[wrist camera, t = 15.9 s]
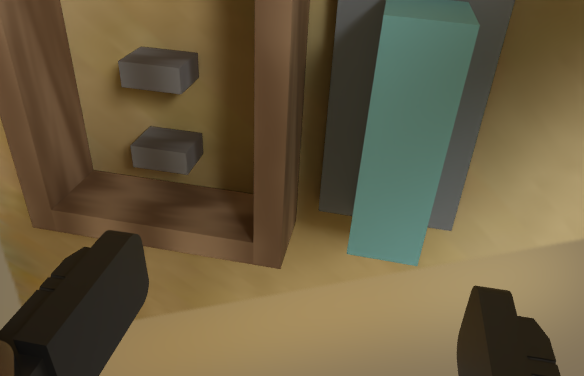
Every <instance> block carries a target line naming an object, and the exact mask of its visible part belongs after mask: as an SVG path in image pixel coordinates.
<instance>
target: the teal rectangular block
mask: <svg viewBox="0 0 584 376" xmlns="http://www.w3.org/2000/svg"><path fill="white" fill-rule="evenodd" d="M479 27H480V25H479V23H478V20H477V18H476V16H475V14H474V12H473V10H472V8H471V6H470V4H469V2H463V1H453V0H386V4H385V10H384V16H383V22H382V29H381V35H380V42H379V48H378V55H377V61H376V68H375V74H374V80H373V87H372V93H371V100H370V106H369V113H368V119H367V126H366V132H365V138H364V145H363V151H362V158H361V164H360V171H359V177H358V184H357V190H356V197H355V203H354V209H353V216H352V222H351V229H350V235H349V242H348V248H347V254H350V255H356V256H362V257H367V258H373V259H379V260H385V261H391V262H396V263H402V264H408V265H414V266H417V265H418V261H419V258H420V254H421V250H422V246H423V242H424V238H425V234H426V231H427V227H428V223H429V219H430V215H431V211H432V207H433V204H434V200H435V196H436V192H437V188H438V184H439V181H440V177H441V173H442V169H443V165H444V161H445V157H446V154H447V150H448V146H449V142H450V138H451V134H452V130H453V127H454V123H455V119H456V115H457V111H458V107H459V104H460V100H461V96H462V92H463V88H464V84H465V80H466V77H467V73H468V69H469V65H470V61H471V57H472V53H473V50H474V46H475V42H476V38H477V34H478V30H479Z"/></svg>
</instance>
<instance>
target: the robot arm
mask: <svg viewBox="0 0 584 376" xmlns="http://www.w3.org/2000/svg"><path fill="white" fill-rule="evenodd" d="M148 287H149V279H148V273H147V267H146V261H145V256H144V250H143V244H142V240H141V237H140V236H139V235H138V234H134V233H128V232H121V231H114V230H107V231H105V232H104V233H103V234H102V235H101V237H100V238H99V239H98V240H97V241H96V242H95V244H94V245H93V246H92V247H91V248H89V247H83V248H82V249H80V250H78V251H77V252H75V253H74V254H72V255H70V256H69V257H67V258H65V259H64V260H63V261H62V263H61V264H60V265H59V266H58V267H57V268H56V269H55V270H54V271H53V273H52V274H51V277H48V278H47V279H46V280H45V281H44V283H43V284H42V285H41V286H40V289H39V290H36V292H35V293H34V294H33V295H32V296H31V297H30V298H29V299H28V300H27V302H26V303H25V304H24V305H23V306H22V307H21V308H20V309H19V311H18V312H17V313H16V314H15V315H14V316H13V317H12V318H11V319H10V320H9V322H8V323H7V324H6V325H5V326H4V327H3V328H2V329H1V330H0V376H99V375H100V373H101V371H102V370H103V368H104V366H105V365H106V363H107V362H108V360H109V359H110V357H111V355H112V354H113V352H114V351H115V349H116V347H117V346H118V344H119V342H120V341H121V339H122V338H123V336H124V335H125V333H126V331H127V330H128V328H129V326H130V325H131V323H132V322H133V320H134V318H135V317H136V315H137V314H138V312H139V310H140V309H141V307H142V306H143V304H144V302H145V299H146V296H147V293H148ZM457 365H458V374H459V376H560V372H559V369H558V366H557V365H556V359H555V356H554V353H553V349H552V346H551V342H550V339H549V338H548V336H547V335H546V334H545V332H544V331H543V330H542V329H541V327H540V326H539V325H538V324H537V322H536V321H535V320H534V319H533V318H527V317H521V316H517V313H516V309H515V305H514V301H513V297H512V294H511V292H510V291H507V290H500V289H494V288H487V287H480V286H474V287H473V289H472V291H471V294H470V297H469V301H468V304H467V307H466V311H465V314H464V318H463V321H462V324H461V328H460V331H459V335H458V342H457Z"/></svg>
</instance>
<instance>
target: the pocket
mask: <svg viewBox="0 0 584 376" xmlns="http://www.w3.org/2000/svg"><path fill="white" fill-rule="evenodd" d="M309 5H310V0H255V68H254V194H249V193H242V192H236V191H229V190H222V189H216V188H209V187H202V186H195V185H189V184H182V183H175V182H169V181H162V180H155V179H148V178H142V177H135V176H128V175H121V174H115V173H108V172H101V171H95V170H93V166H92V161H91V156H90V151H89V146H88V141H87V136H86V131H85V126H84V120H83V115H82V110H81V105H80V100H79V95H78V90H77V85H76V80H75V75H74V70H73V64H72V59H71V54H70V49H69V44H68V39H67V34H66V29H65V24H64V19H63V14H62V9H61V3H60V0H0V117H1V120H2V124H3V127H4V130H5V134H6V137H7V141H8V144H9V147H10V151H11V154H12V158H13V161H14V164H15V168H16V171H17V175H18V178H19V181H20V185H21V188H22V192H23V195H24V198H25V202H26V205H27V209H28V212H29V215H30V219H31V222H32V226H33V227H34V228H40V229H46V230H52V231H58V232H64V233H70V234H76V235H82V236H87V237H93V238H100V237H101V235H102V234H103V233H104V232H105V231H107V230H114V231H121V232H128V233H134V234H138V235H139V236H140V237H141V240H142V244H143V246H147V247H153V248H158V249H164V250H170V251H176V252H182V253H188V254H194V255H200V256H206V257H212V258H218V259H224V260H230V261H235V262H241V263H247V264H253V265H259V266H265V267H271V268H277V269H281V265H282V262H283V259H284V256H285V253H286V250H287V247H288V244H289V241H290V238H291V234H292V231H293V228H294V225H295V222H296V211H297V195H298V179H299V163H300V148H301V132H302V116H303V100H304V84H305V68H306V52H307V36H308V21H309ZM118 64H119V71H120V78H121V85H122V87H126V88H134V89H142V90H150V91H158V92H166V93H175V94H182V93H183V92H184V91H185V90H186V89H187V88H188V87H189V86H190V85H192V84H193V83H194V82H195V81H196V80H197V79H198V78H199V70H198V53H195V52H186V51H176V50H167V49H158V48H149V47H139V48H138V49H136V50H135V51H133V52H131V53H130V54H128V55H127V56H125V57H124V58H122V59H121V60H119V61H118ZM130 147H131V154H132V161H133V167H138V168H144V169H151V170H158V171H165V172H172V173H179V174H185V175H188V174H189V172H190V171H191V170H192V168H193V167H194V165H195V164H196V163H197V161H198V160H199V159H200V157H201V156H202V155H203V140H202V133H197V132H190V131H182V130H175V129H167V128H160V127H152V126H150V127H149V128H148V129H147V130H146V131H145V132H144V133H143V134H142V135H141V136H140V137H139V138H138V139H137V140H136V141H135V142H133V143H132V144H131V145H130Z"/></svg>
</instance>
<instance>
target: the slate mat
mask: <svg viewBox="0 0 584 376" xmlns="http://www.w3.org/2000/svg"><path fill="white" fill-rule="evenodd" d="M453 1H463V2H469V4H470V6H471V8H472V10H473V12H474V14H475V16H476V18H477V20H478V23H479V25H480V27H479V30H478V34H477V38H476V42H475V46H474V50H473V53H472V57H471V61H470V65H469V69H468V73H467V77H466V80H465V84H464V88H463V92H462V96H461V100H460V104H459V107H458V111H457V115H456V119H455V123H454V127H453V130H452V134H451V138H450V142H449V146H448V150H447V154H446V157H445V161H444V165H443V169H442V173H441V177H440V181H439V184H438V188H437V192H436V196H435V200H434V204H433V207H432V211H431V215H430V219H429V223H428V227H429V228H436V229H442V230H449V231H451V230H452V227H453V223H454V219H455V216H456V212H457V209H458V205H459V201H460V198H461V194H462V190H463V187H464V183H465V180H466V176H467V172H468V169H469V165H470V162H471V158H472V154H473V151H474V147H475V143H476V140H477V136H478V133H479V129H480V125H481V122H482V118H483V114H484V111H485V107H486V104H487V100H488V96H489V93H490V89H491V86H492V82H493V78H494V75H495V71H496V67H497V64H498V60H499V57H500V53H501V49H502V46H503V42H504V38H505V35H506V31H507V28H508V24H509V20H510V17H511V13H512V9H513V6H514V2H515V0H453ZM385 4H386V0H338V6H337V17H336V28H335V39H334V50H333V60H332V71H331V82H330V93H329V104H328V115H327V125H326V136H325V147H324V158H323V169H322V180H321V190H320V201H319V211H323V212H330V213H336V214H343V215H349V216H353V209H354V203H355V197H356V190H357V184H358V177H359V171H360V164H361V158H362V151H363V145H364V138H365V132H366V126H367V119H368V113H369V106H370V100H371V93H372V87H373V80H374V74H375V68H376V61H377V55H378V48H379V42H380V35H381V29H382V22H383V16H384V10H385Z"/></svg>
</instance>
